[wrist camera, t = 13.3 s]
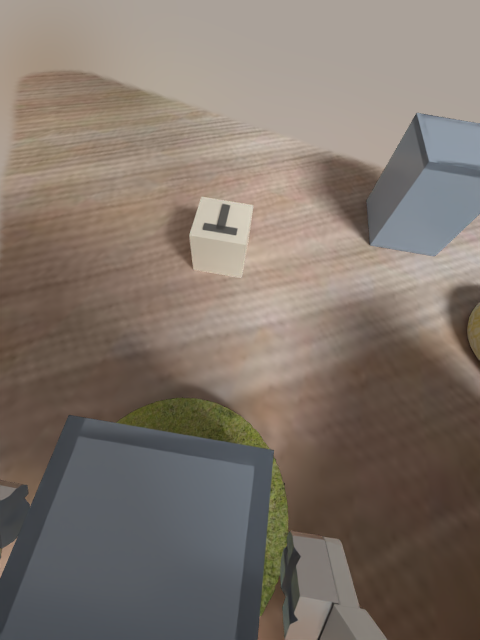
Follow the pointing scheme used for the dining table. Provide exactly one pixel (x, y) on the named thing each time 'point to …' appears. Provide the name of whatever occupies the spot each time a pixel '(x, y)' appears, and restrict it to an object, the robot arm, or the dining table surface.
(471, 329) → the bread roll
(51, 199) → the dining table surface
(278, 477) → the mat
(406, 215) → the gray notched block
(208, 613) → the grey stool
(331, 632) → the robot arm
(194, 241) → the letter cube
